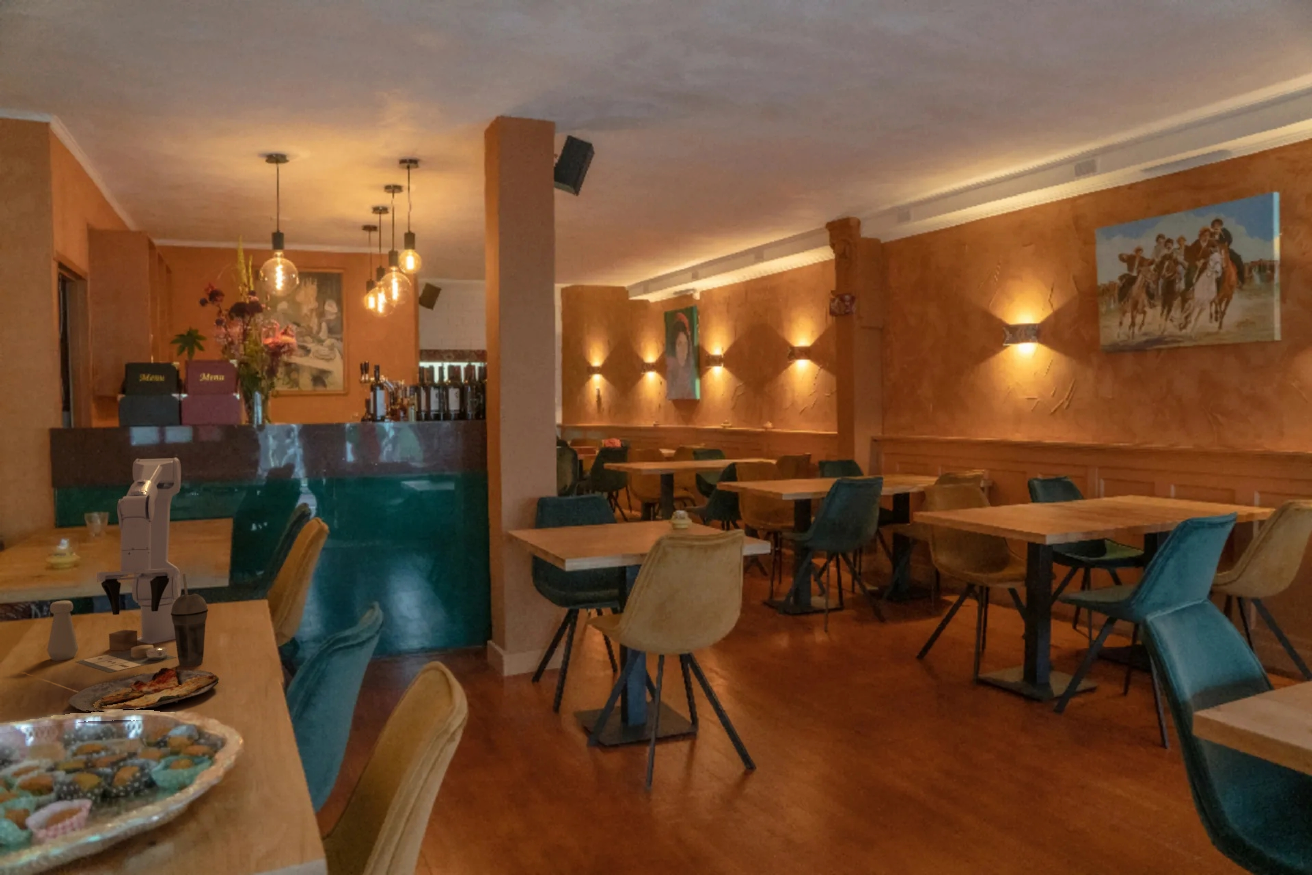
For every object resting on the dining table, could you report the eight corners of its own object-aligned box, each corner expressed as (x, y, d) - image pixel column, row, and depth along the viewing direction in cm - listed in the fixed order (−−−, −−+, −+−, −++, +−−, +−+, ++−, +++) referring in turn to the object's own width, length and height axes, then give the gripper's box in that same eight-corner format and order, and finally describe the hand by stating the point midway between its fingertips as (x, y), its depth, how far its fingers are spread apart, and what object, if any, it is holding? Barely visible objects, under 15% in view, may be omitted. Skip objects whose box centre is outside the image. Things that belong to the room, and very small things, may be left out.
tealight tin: (161, 655, 206) (160, 645, 206) (170, 657, 203) (170, 648, 203) (143, 659, 202) (142, 650, 202) (152, 662, 200) (152, 652, 200)
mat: (141, 649, 213) (141, 647, 213) (176, 658, 204) (176, 656, 204) (75, 663, 202) (75, 661, 202) (109, 673, 192) (109, 671, 192)
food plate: (187, 672, 192) (186, 655, 192) (241, 693, 178) (240, 675, 178) (51, 705, 173) (50, 687, 173) (99, 733, 158) (97, 713, 158)
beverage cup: (217, 661, 201) (214, 570, 200) (190, 670, 194) (187, 576, 193) (191, 659, 203) (188, 569, 203) (164, 668, 196) (161, 575, 196)
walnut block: (123, 646, 216) (123, 629, 216) (137, 647, 215) (137, 630, 215) (109, 650, 212) (109, 633, 212) (123, 651, 211) (123, 634, 211)
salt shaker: (63, 663, 202) (61, 604, 201) (41, 662, 203) (39, 603, 203) (84, 656, 207) (82, 599, 207) (63, 655, 209) (61, 598, 208)
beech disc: (147, 652, 209) (147, 643, 209) (157, 655, 206) (157, 646, 206) (127, 656, 205) (127, 647, 205) (137, 659, 203) (136, 650, 203)
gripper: (104, 550, 194) (103, 616, 192) (177, 547, 204) (177, 609, 202) (94, 552, 198) (93, 616, 197) (166, 549, 209) (166, 609, 207)
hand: (135, 612), depth 200 cm, fingers open, 7 cm apart
